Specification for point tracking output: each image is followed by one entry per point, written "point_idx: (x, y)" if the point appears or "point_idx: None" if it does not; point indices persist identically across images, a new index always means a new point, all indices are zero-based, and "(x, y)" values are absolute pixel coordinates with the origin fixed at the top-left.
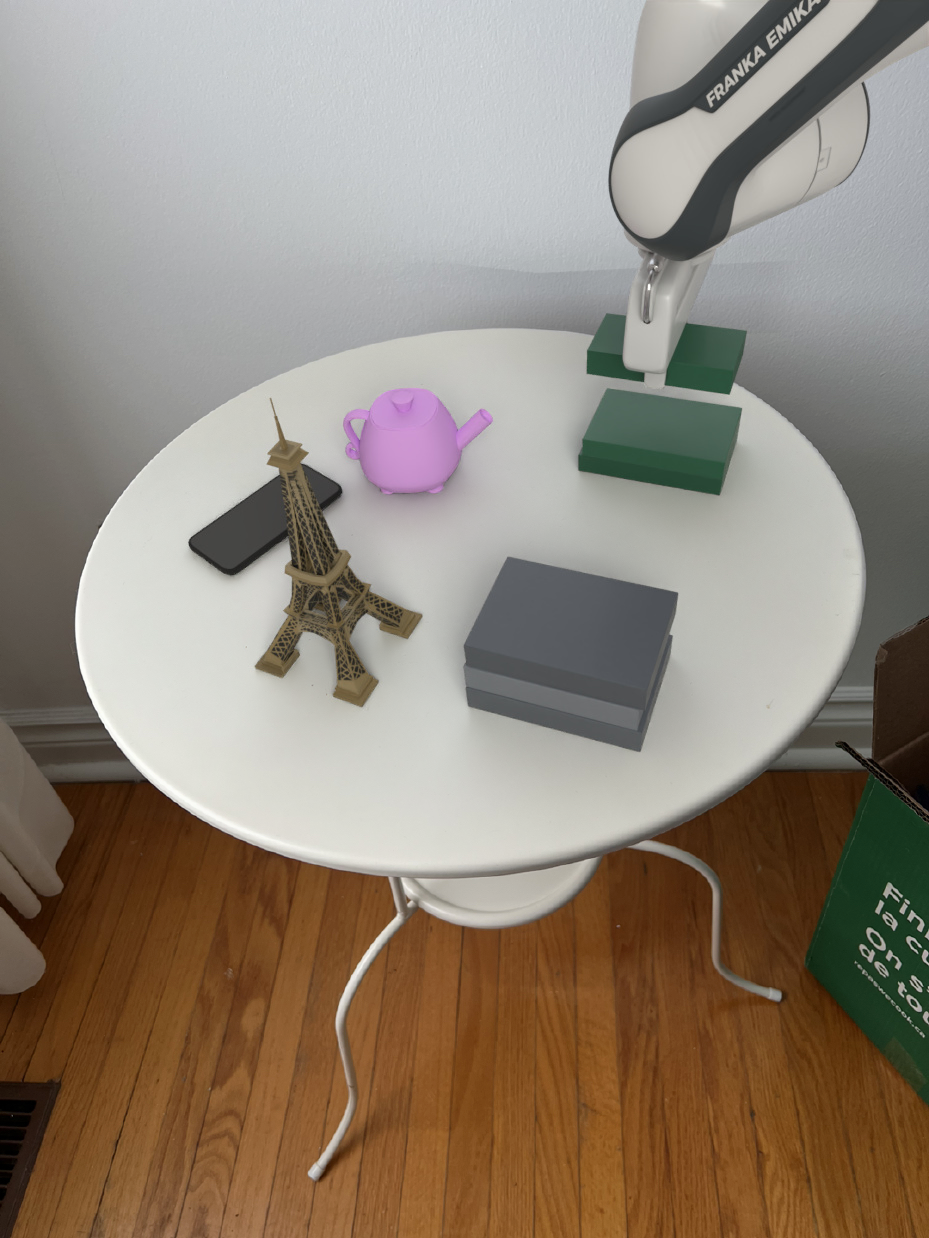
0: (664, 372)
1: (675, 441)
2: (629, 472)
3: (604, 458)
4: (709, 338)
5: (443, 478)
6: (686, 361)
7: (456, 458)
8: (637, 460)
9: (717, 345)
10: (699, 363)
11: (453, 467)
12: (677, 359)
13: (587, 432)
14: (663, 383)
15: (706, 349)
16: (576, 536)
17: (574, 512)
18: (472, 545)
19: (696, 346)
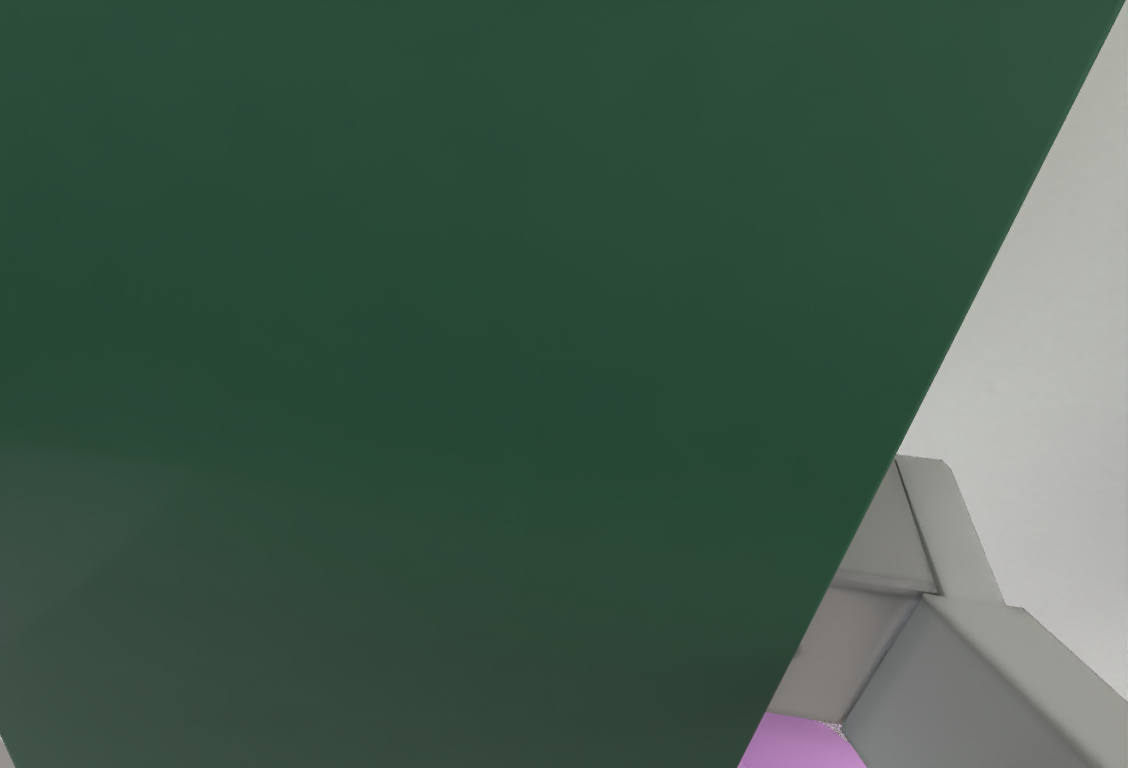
0: (1037, 628)
1: None
2: None
3: None
4: (122, 159)
5: (853, 758)
6: (831, 444)
7: (782, 763)
8: None
9: (301, 3)
10: (916, 288)
11: (807, 751)
12: (775, 533)
13: None
14: (954, 498)
15: (483, 197)
16: (1110, 336)
17: (951, 356)
18: (1080, 608)
19: (413, 336)
